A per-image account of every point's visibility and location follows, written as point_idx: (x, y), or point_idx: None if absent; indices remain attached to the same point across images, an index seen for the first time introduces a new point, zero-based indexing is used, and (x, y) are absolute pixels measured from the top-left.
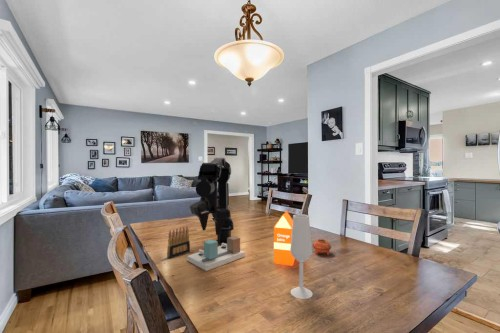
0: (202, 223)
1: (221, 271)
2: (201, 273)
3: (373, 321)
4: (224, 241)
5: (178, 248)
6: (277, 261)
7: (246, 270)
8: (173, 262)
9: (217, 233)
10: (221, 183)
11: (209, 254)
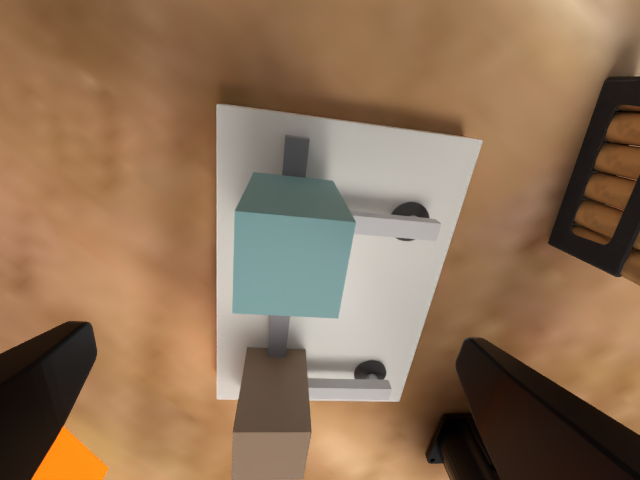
0: (571, 441)
1: (146, 165)
2: (218, 51)
3: None
4: (452, 431)
5: (627, 166)
6: None
7: (54, 268)
8: (533, 48)
9: (46, 345)
10: None
11: (250, 181)
